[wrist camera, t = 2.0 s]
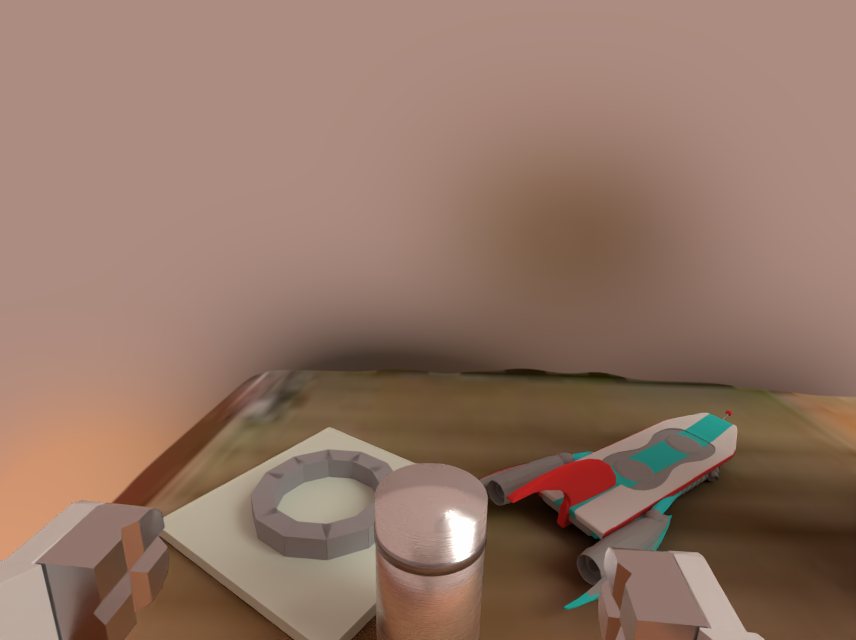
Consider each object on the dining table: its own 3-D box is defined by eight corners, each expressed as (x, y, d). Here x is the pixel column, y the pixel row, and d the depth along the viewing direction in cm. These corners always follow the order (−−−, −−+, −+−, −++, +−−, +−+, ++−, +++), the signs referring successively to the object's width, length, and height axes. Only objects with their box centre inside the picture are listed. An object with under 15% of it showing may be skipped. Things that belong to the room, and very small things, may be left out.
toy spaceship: (644, 419, 54) (657, 372, 52) (765, 477, 46) (785, 424, 44) (445, 506, 36) (455, 440, 35) (584, 625, 28) (607, 546, 27)
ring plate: (329, 434, 48) (328, 411, 47) (485, 502, 39) (487, 475, 38) (155, 532, 35) (150, 503, 34) (326, 664, 26) (324, 628, 26)
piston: (416, 606, 30) (419, 451, 27) (495, 654, 27) (509, 487, 24) (354, 674, 26) (349, 501, 23) (440, 739, 23) (447, 552, 20)
